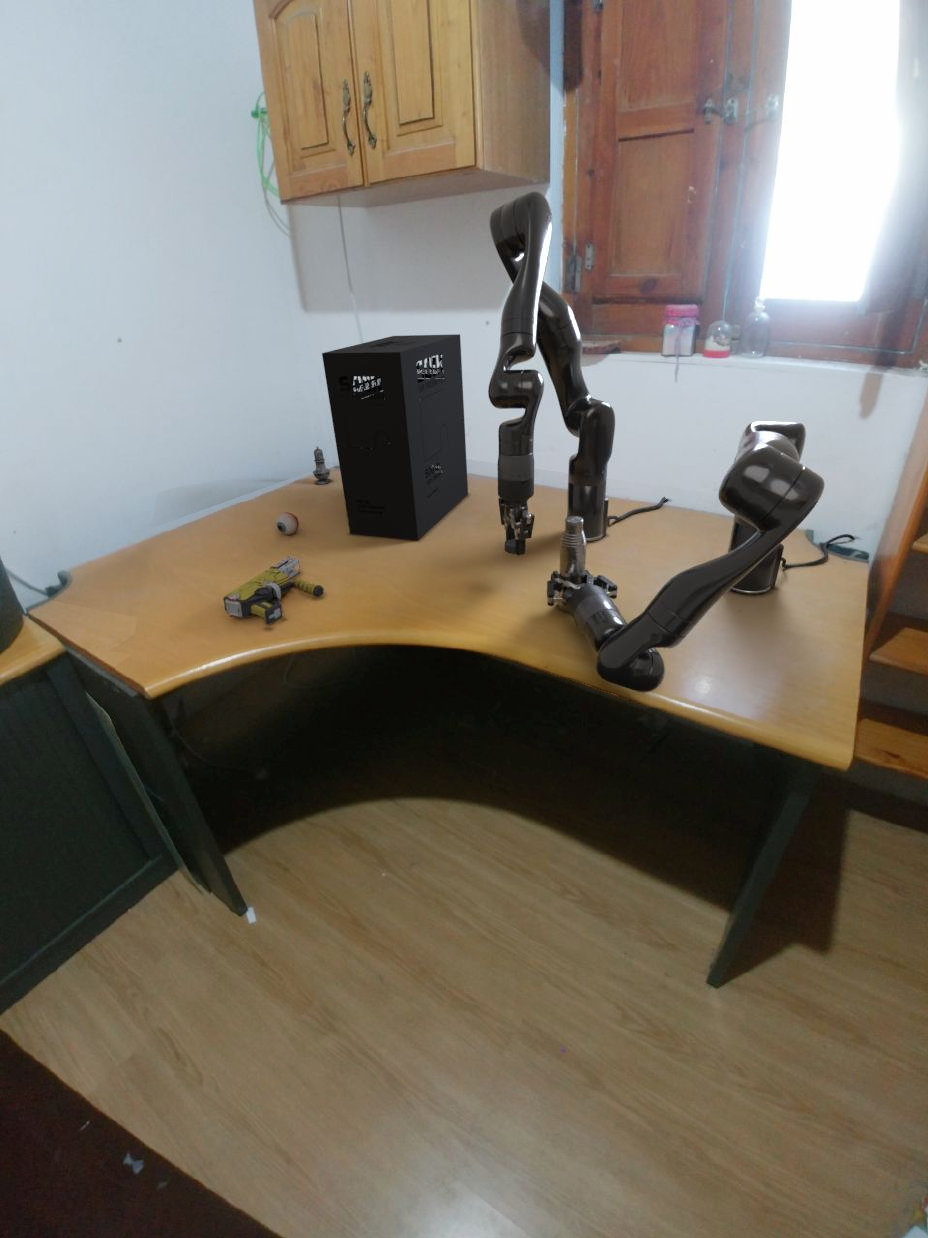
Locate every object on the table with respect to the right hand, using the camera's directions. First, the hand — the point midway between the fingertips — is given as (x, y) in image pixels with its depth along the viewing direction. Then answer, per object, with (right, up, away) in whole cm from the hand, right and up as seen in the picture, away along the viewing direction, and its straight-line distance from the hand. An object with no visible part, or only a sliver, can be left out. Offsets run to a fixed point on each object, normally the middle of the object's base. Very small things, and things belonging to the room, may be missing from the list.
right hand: (567, 573), depth 122 cm
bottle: (+1, -6, +1) cm, 7 cm away
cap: (-10, +7, +10) cm, 16 cm away
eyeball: (-69, +14, +43) cm, 83 cm away
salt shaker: (-69, +38, +84) cm, 115 cm away
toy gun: (-60, -5, +10) cm, 61 cm away
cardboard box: (-36, +22, +53) cm, 68 cm away
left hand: (-10, +6, +11) cm, 16 cm away
